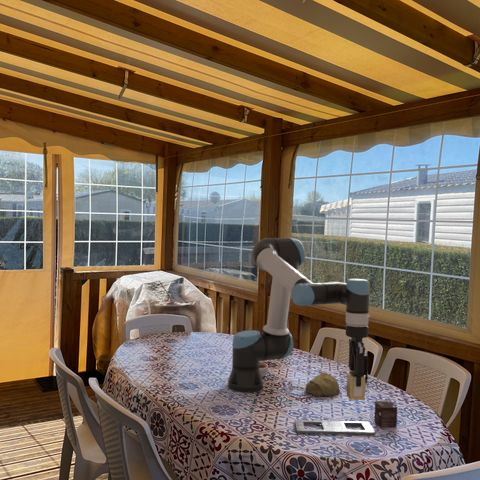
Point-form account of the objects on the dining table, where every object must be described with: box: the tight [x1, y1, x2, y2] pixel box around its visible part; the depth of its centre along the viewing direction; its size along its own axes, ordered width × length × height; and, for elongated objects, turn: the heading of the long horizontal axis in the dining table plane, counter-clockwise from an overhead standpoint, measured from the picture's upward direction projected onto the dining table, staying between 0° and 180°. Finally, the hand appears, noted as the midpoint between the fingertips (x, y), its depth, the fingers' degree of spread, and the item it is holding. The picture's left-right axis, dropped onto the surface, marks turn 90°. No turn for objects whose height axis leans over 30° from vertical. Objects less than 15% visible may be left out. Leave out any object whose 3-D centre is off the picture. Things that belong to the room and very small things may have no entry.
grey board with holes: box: [294, 419, 376, 436], centre depth 171 cm, size 26×9×1 cm, turn 90°
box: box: [373, 400, 398, 429], centre depth 176 cm, size 6×6×7 cm
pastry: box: [304, 372, 341, 397], centre depth 209 cm, size 14×12×8 cm
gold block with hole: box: [346, 371, 366, 401], centre depth 171 cm, size 5×5×8 cm
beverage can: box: [364, 352, 369, 383], centre depth 227 cm, size 7×7×12 cm
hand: (355, 392), depth 171 cm, fingers closed on gold block with hole, 5 cm apart
